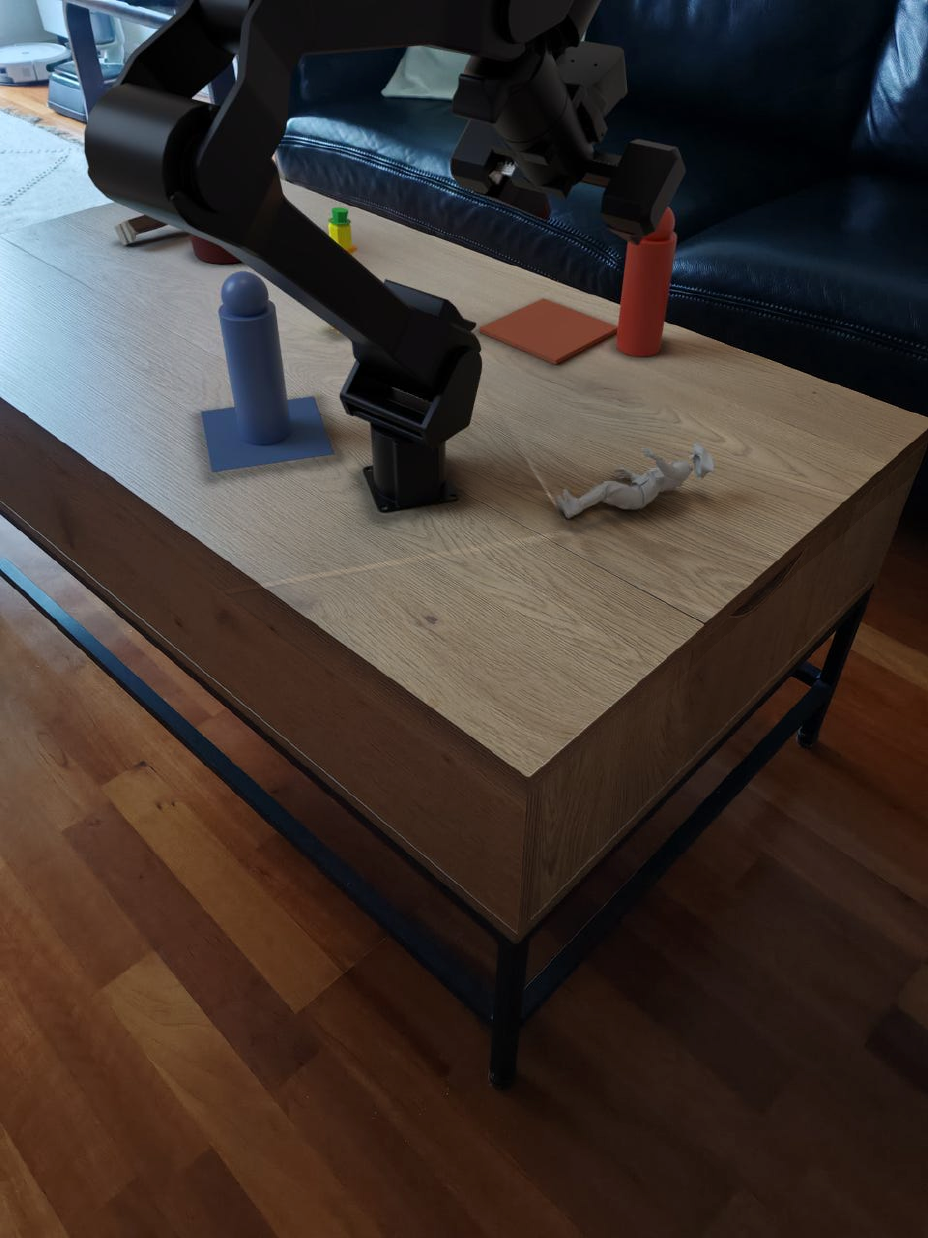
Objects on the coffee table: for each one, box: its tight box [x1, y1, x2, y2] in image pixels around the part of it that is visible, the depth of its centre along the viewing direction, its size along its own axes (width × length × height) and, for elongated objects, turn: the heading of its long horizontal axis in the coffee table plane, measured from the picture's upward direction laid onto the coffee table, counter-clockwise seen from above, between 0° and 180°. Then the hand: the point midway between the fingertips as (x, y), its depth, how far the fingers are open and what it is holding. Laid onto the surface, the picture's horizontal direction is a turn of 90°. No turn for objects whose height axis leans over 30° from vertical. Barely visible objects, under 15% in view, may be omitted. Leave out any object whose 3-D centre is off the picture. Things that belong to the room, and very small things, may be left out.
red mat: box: [479, 297, 618, 365], centre depth 98 cm, size 10×10×1 cm
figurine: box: [114, 214, 169, 246], centre depth 116 cm, size 8×5×15 cm
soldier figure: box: [555, 442, 715, 519], centre depth 75 cm, size 8×5×12 cm
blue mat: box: [200, 395, 335, 473], centre depth 83 cm, size 10×10×1 cm
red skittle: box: [615, 206, 678, 358], centre depth 92 cm, size 4×4×14 cm
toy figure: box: [327, 206, 358, 334], centre depth 94 cm, size 7×4×12 cm, turn 129°
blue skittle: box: [217, 270, 291, 445], centre depth 78 cm, size 4×4×14 cm
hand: (592, 227), depth 83 cm, fingers open, 9 cm apart
